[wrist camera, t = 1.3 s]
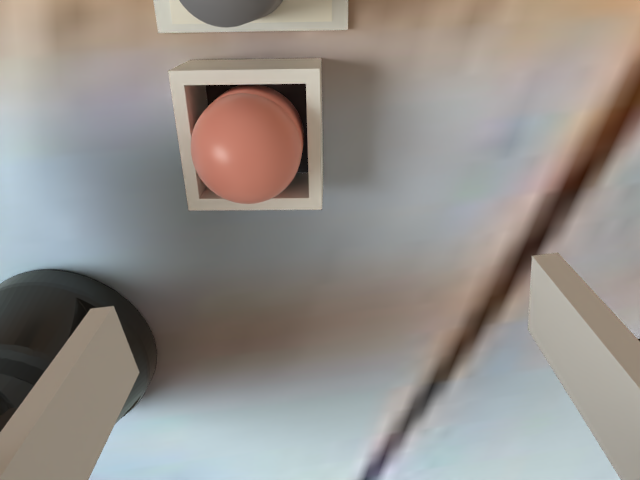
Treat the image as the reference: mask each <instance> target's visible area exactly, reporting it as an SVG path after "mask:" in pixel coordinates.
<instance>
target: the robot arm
mask: <svg viewBox="0 0 640 480" xmlns="http://www.w3.org/2000/svg"><path fill="white" fill-rule="evenodd" d="M528 331H529V332H530V334H531V335H532V337H533V339H534V340H535V342H536V343H537V345H538V347H539V348H540V350H541V351H542V353H543V355H544V356H545V358H546V360H547V361H548V363H549V364H550V366H551V368H552V369H553V371H554V372H555V374H556V376H557V377H558V379H559V380H560V382H561V384H562V385H563V387H564V389H565V390H566V392H567V393H568V395H569V397H570V398H571V400H572V401H573V403H574V405H575V406H576V408H577V409H578V411H579V413H580V414H581V416H582V418H583V419H584V421H585V422H586V424H587V426H588V427H589V429H590V430H591V432H592V434H593V435H594V437H595V438H596V440H597V442H598V443H599V445H600V447H601V448H602V450H603V451H604V453H605V455H606V456H607V458H608V459H609V461H610V463H611V464H612V466H613V468H614V469H615V471H616V472H617V474H618V476H619V477H620V479H621V480H640V339H637V338H636V337H635V336H634V335H633V334H632V333H631V332H630V331H629V329H628V328H627V327H626V326H625V325H624V324H623V323H622V322H621V321H620V320H619V319H618V318H617V316H616V315H615V314H614V313H613V312H612V311H611V310H610V309H609V308H608V307H607V306H606V304H605V303H604V302H603V301H602V300H601V299H600V298H599V297H598V296H597V295H596V294H595V293H594V291H593V290H592V289H591V288H590V287H589V286H588V285H587V284H586V283H585V282H584V281H583V280H582V278H581V277H580V276H579V275H578V274H577V273H576V272H575V271H574V270H573V269H572V268H571V266H570V265H569V264H568V263H567V262H566V261H565V260H564V259H563V258H562V257H561V256H560V255H559V253H552V254H544V255H535V256H532V266H531V283H530V301H529V318H528ZM156 361H157V352H156V345H155V341H154V338H153V335H152V333H151V330H150V328H149V327H148V325H147V323H146V321H145V320H144V318H143V317H142V316H141V314H140V313H139V312H138V311H137V310H136V308H135V307H134V306H133V305H132V304H131V303H129V302H128V301H127V300H126V299H125V298H124V297H122V296H121V295H120V294H118V293H117V292H116V291H114V290H112V289H111V288H109V287H107V286H106V285H104V284H102V283H100V282H98V281H96V280H93V279H91V278H88V277H85V276H82V275H79V274H75V273H70V272H65V271H57V270H38V271H31V272H26V273H22V274H19V275H16V276H13V277H11V278H9V279H7V280H5V281H4V282H2V283H1V284H0V480H88V479H89V477H90V475H91V473H92V471H93V469H94V467H95V465H96V462H97V460H98V458H99V456H100V454H101V452H102V450H103V448H104V446H105V444H106V442H107V439H108V437H109V435H110V433H111V431H112V429H113V427H114V425H115V424H116V423H117V422H118V421H119V420H120V419H121V418H122V417H123V416H125V415H126V414H127V413H128V412H129V411H131V410H132V409H133V408H134V407H135V406H136V405H137V403H138V402H139V401H140V399H141V398H142V397H143V395H144V393H145V391H146V389H147V387H148V385H149V383H150V381H151V378H152V376H153V374H154V371H155V367H156Z"/></svg>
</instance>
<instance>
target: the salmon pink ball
mask: <svg viewBox="0 0 640 480" xmlns="http://www.w3.org/2000/svg"><path fill="white" fill-rule="evenodd" d="M303 145H304V128H303V124H302V121H301V118H300V115H299V114H298V112H297V110H296V108H295V107H294V106H293V104H292V103H291V102H290V101H289V100H288V99H287V98H286V97H285V96H284V95H282V94H281V93H279V92H278V91H276V90H274V89H272V88H269V87H266V86H263V85H258V84H245V85H240V86H236V87H233V88H231V89H229V90H227V91H225V92H224V93H223V94H221V95H220V96H219V97H218V98H217V99H215V100H214V101H213V102H212V103H211V104H210V105H209V106H208V107H207V108H206V109H205V110H204V111H203V113H202V114H201V115H200V117H199V118H198V120H197V122H196V124H195V126H194V129H193V133H192V137H191V156H192V161H193V164H194V167H195V170H196V172H197V174H198V176H199V177H200V179H201V180H202V181H203V183H204V184H205V185H206V186H207V187H208V188H209V189H210V190H211V191H212V192H214V193H215V194H216V195H218V196H220V197H222V198H224V199H226V200H228V201H232V202H235V203H240V204H255V203H260V202H263V201H266V200H269V199H271V198H273V197H275V196H277V195H278V194H280V193H281V192H282V191H283V190H284V189H286V188H287V186H288V185H289V184H290V183H291V182H292V180H293V179H294V177H295V175H296V173H297V171H298V168H299V165H300V161H301V156H302V151H303Z"/></svg>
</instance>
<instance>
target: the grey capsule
mask: <svg viewBox="0 0 640 480" xmlns="http://www.w3.org/2000/svg"><path fill="white" fill-rule="evenodd" d="M179 1H180V2H181V4H182V5H183V6H184V7H185V8H186V9H187V11H188V12H190V13H191V14H192V15H193V16H194V17H196V18H197V19H199V20H200V21H202V22H204V23H206V24H209V25H212V26H216V27H225V28H228V27H236V26H240V25H243V24H246V23H249V22H251V21H254V20H257V19H260V18H262V17H265V16H267V15H269V14H271V13H272V12H273V11H275V10H276V9H277V8H278V7H279V6H280V4H281V3H282V1H283V0H179Z"/></svg>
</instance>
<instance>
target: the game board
mask: <svg viewBox="0 0 640 480" xmlns="http://www.w3.org/2000/svg"><path fill="white" fill-rule="evenodd" d="M153 1H154V7H155V14H156V21H157V27H158V33H191V32H251V31H311V30H348V0H283V1H282V3H281V4H280V6H279V7H278V8H277V9H276V10H275V11H273V12H272V13H271V14H269V15H267V16H265V17H262V18H260V19H257V20H254V21H251V22H249V23H246V24H243V25H240V26H236V27H228V28H225V27H216V26H212V25H209V24H206V23H204V22H202V21H200V20H199V19H197V18H196V17H194V16H193V15H192V14H191V13H190V12H188V11H187V9H186V8H185V7H184V6H183V5H182V4H181V2H180V1H179V0H153ZM168 74H169V81H170V88H171V95H172V101H173V108H174V115H175V122H176V129H177V135H178V142H179V149H180V156H181V163H182V169H183V176H184V183H185V190H186V197H187V203H188V210H189V211H201V210H322V199H323V128H322V60H321V58H291V59H225V60H190V61H188V62H185V63H183V64H181V65H179V66H177V67H175V68H173V69H171V70H169V71H168ZM241 84H306V106H307V141H308V172H301V173H296V175H295V177H294V179H293V180H292V182H291V183H290V184H289V185H288V186H287V188H286V189H284V190H283V191H282V192H281V193H280V194H278V195H277V196H275V197H273V198H271V199H269V200H266V201H263V202H260V203H255V204H240V203H235V202H232V201H228V200H226V199H224V198H222V197H220V196H218V195H216V194H215V193H214V192H212V191H211V190H210V189H209V188H208V187H207V186H206V185H205V184H204V183H203V181H202V180H201V179H200V177H199V176H198V174H197V172H196V170H195V167H194V164H193V161H192V156H191V137H192V133H193V129H194V126H195V124H196V122H197V120H198V118H199V117H200V115H201V114H202V113H203V111H204V110H205V109H206V108H207V107H208V101H207V93H206V85H241Z"/></svg>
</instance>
